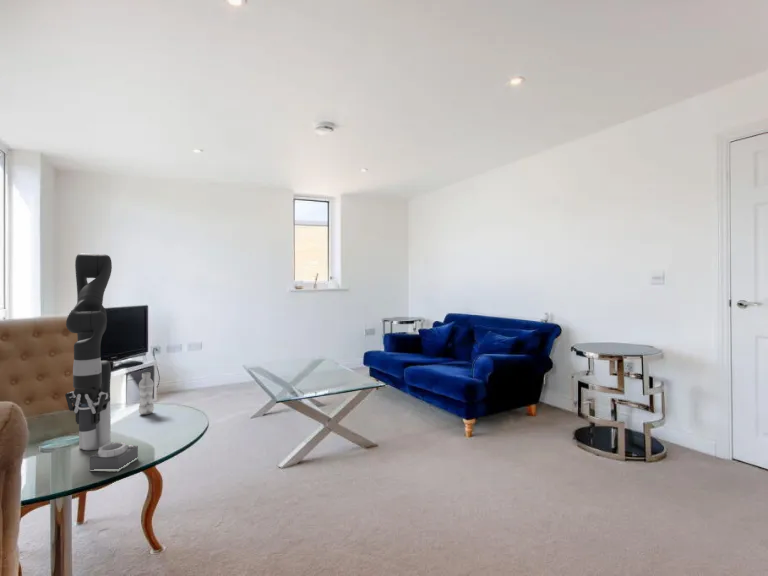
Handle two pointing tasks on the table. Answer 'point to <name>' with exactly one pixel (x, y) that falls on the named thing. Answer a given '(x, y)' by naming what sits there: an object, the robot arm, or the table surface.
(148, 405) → the plastic bottle
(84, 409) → the lens
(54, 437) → the table surface
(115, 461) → the camera body
